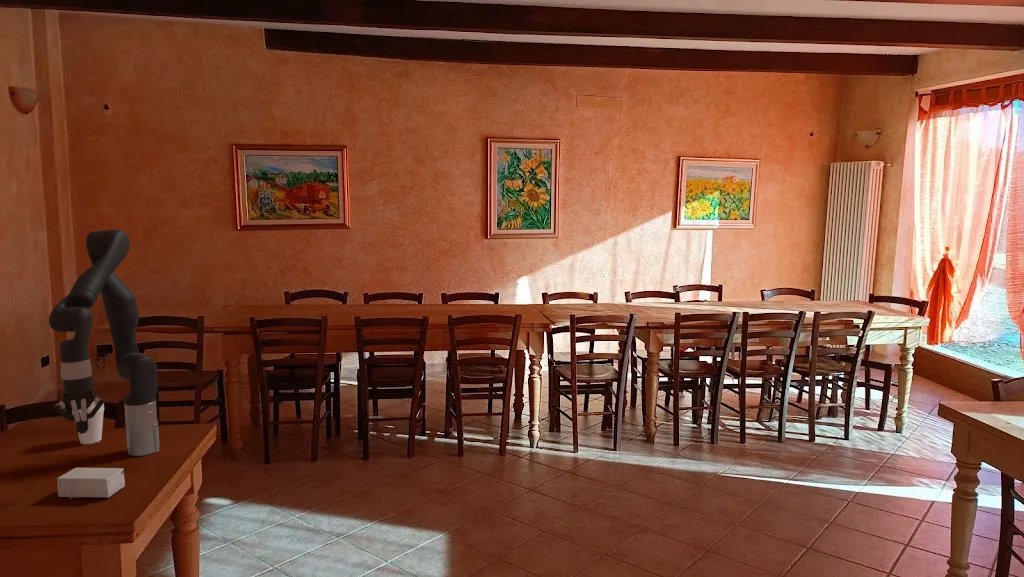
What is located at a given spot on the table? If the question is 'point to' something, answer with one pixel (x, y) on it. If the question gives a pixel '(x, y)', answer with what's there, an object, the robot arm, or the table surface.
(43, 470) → the table surface
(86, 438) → the foam cup
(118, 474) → the skincare box
